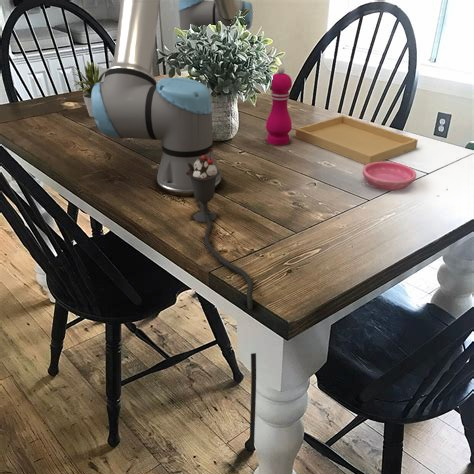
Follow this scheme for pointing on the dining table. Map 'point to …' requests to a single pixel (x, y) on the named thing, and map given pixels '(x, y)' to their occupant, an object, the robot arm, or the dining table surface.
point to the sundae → (203, 184)
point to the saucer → (389, 175)
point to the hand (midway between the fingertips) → (257, 68)
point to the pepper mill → (279, 110)
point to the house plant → (90, 82)
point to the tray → (356, 139)
